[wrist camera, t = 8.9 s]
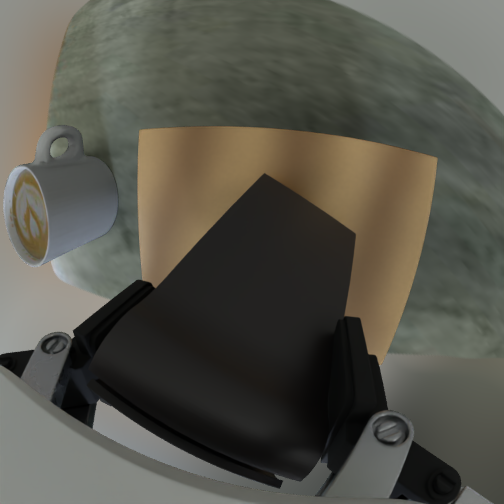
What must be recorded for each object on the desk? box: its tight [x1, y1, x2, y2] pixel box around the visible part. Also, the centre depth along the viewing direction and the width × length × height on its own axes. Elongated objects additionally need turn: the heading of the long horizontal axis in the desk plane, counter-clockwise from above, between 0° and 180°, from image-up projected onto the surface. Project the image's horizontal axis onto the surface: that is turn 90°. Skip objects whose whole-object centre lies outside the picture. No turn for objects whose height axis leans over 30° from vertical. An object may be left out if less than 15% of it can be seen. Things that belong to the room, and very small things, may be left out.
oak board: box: [138, 126, 437, 365], centre depth 18 cm, size 20×16×1 cm
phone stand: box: [86, 173, 356, 488], centre depth 11 cm, size 9×6×12 cm, turn 149°
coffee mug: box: [3, 125, 118, 267], centre depth 22 cm, size 13×10×10 cm
